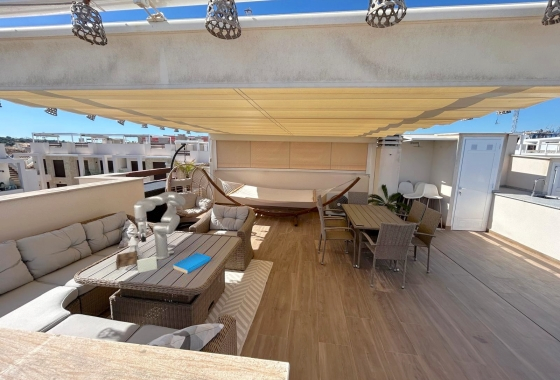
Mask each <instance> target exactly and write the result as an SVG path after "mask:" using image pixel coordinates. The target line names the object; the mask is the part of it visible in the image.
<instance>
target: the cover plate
mask: <svg viewBox="0 0 560 380" xmlns="http://www.w3.org/2000/svg"><path fill="white" fill-rule="evenodd" d="M157 262H158V261H157V259H156V256H155V255H154V256H151V257H147V258H146V257H145V258H140V259H138V260H137V266H136V267H137V273H138V274H140V273H144V272H148V271H154V270H157V269H158V265H157Z"/></svg>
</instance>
